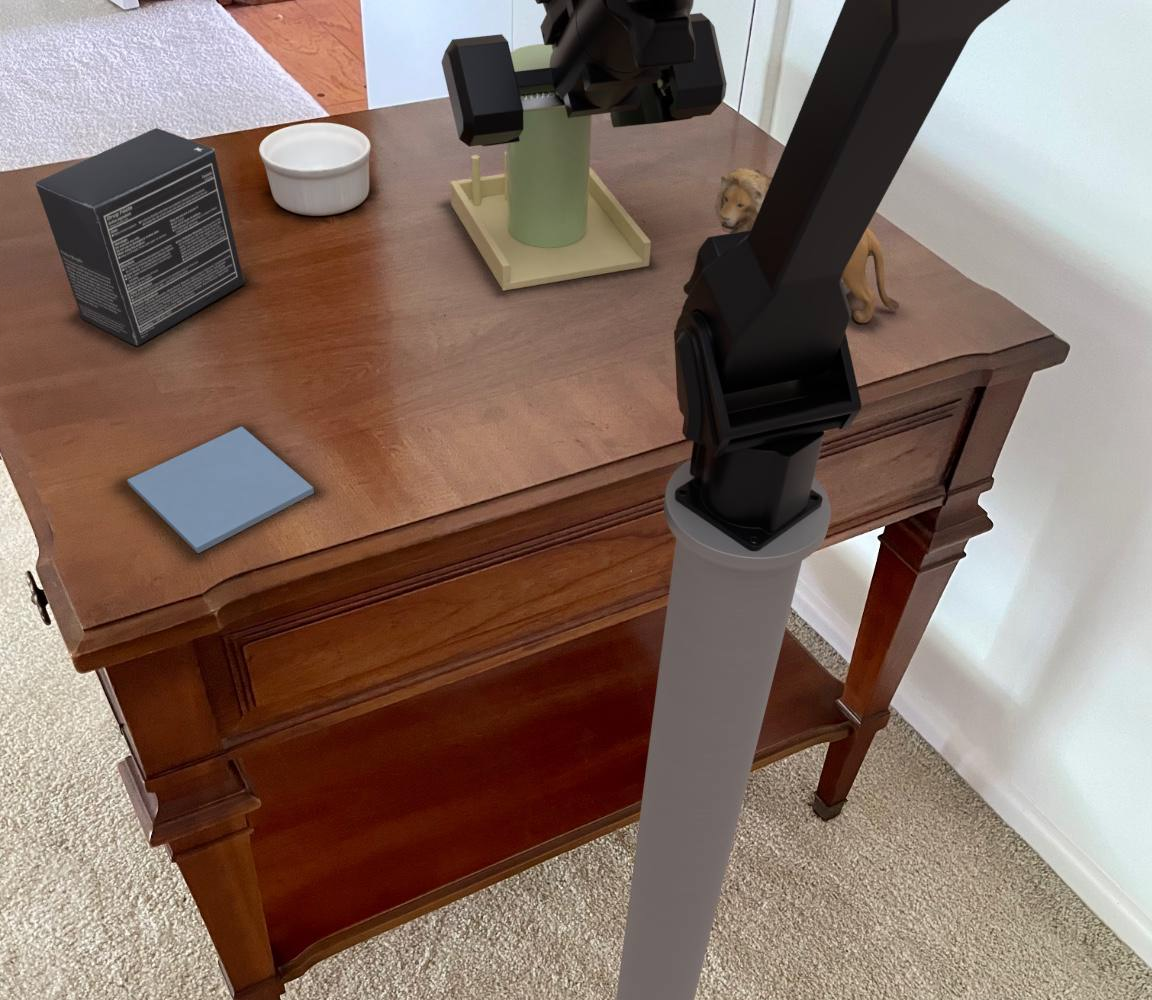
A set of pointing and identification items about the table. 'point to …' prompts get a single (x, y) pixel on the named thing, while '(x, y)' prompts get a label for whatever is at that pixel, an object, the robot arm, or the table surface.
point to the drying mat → (220, 488)
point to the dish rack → (520, 265)
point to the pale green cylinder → (547, 169)
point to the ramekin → (317, 167)
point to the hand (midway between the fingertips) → (555, 127)
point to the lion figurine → (739, 214)
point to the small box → (143, 234)
